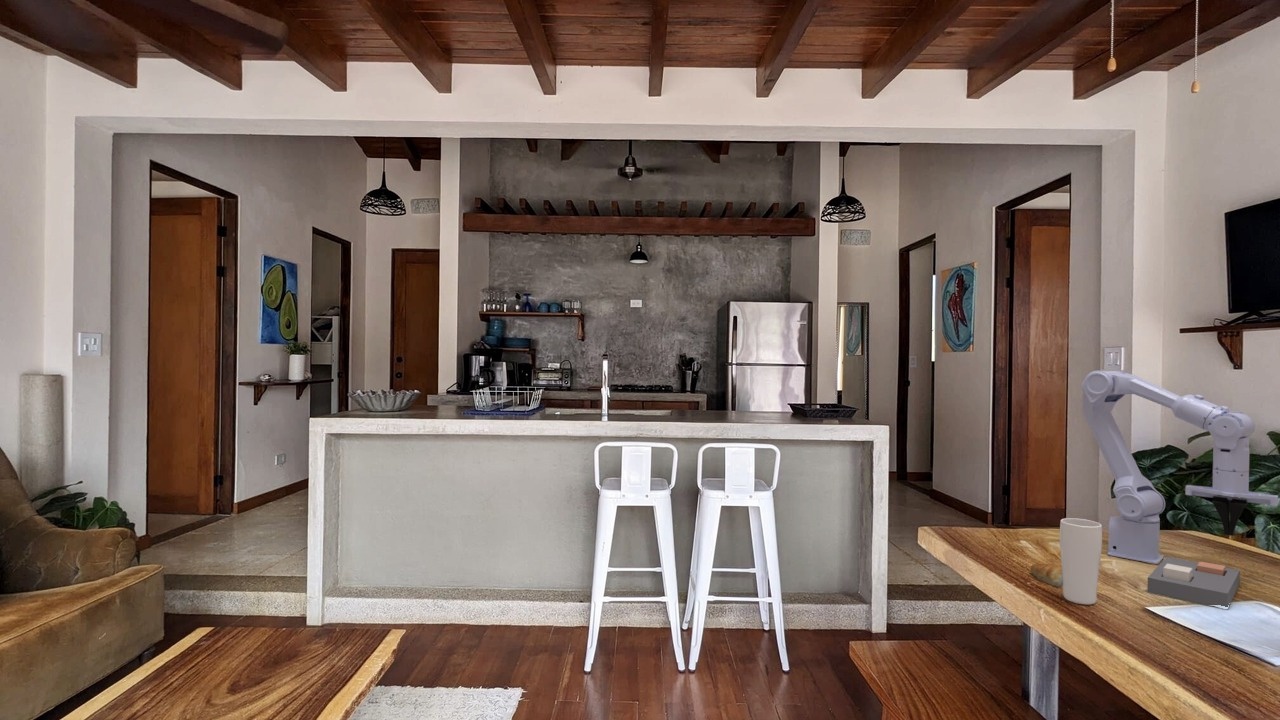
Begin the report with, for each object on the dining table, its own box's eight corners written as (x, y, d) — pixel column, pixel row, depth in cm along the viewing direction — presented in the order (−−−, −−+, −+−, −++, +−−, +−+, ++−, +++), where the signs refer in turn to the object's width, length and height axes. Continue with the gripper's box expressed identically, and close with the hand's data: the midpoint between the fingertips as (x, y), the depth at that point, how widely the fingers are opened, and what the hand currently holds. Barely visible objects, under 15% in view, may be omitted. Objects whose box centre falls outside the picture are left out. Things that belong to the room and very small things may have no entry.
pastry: (1021, 574, 144) (1021, 556, 144) (1047, 572, 146) (1047, 555, 146) (1057, 589, 135) (1058, 570, 135) (1085, 587, 137) (1085, 568, 137)
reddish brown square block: (1196, 580, 138) (1197, 565, 138) (1199, 575, 141) (1200, 561, 141) (1222, 585, 135) (1222, 570, 135) (1225, 580, 138) (1225, 565, 138)
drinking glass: (1101, 609, 124) (1103, 528, 124) (1058, 602, 128) (1059, 523, 128) (1100, 598, 130) (1101, 521, 130) (1058, 591, 134) (1059, 516, 133)
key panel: (1147, 592, 133) (1147, 577, 133) (1166, 570, 147) (1166, 556, 147) (1227, 609, 125) (1227, 593, 125) (1239, 584, 138) (1239, 569, 138)
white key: (1163, 582, 134) (1163, 567, 134) (1166, 578, 137) (1167, 563, 137) (1188, 588, 131) (1189, 572, 131) (1192, 583, 134) (1192, 568, 134)
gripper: (1183, 467, 144) (1182, 530, 144) (1276, 477, 134) (1275, 545, 134) (1188, 463, 149) (1187, 525, 149) (1279, 472, 138) (1277, 538, 139)
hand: (1229, 534), depth 142 cm, fingers closed
